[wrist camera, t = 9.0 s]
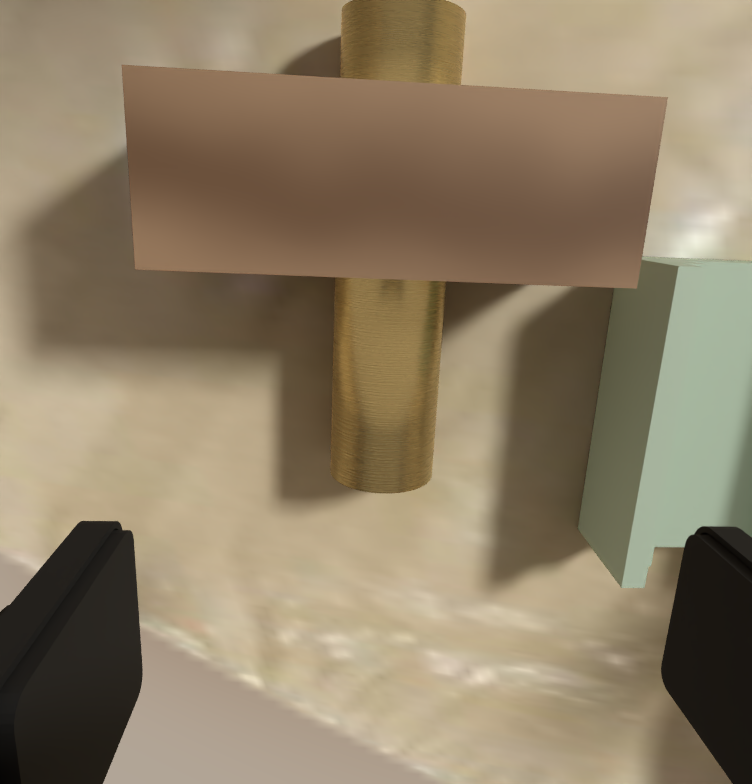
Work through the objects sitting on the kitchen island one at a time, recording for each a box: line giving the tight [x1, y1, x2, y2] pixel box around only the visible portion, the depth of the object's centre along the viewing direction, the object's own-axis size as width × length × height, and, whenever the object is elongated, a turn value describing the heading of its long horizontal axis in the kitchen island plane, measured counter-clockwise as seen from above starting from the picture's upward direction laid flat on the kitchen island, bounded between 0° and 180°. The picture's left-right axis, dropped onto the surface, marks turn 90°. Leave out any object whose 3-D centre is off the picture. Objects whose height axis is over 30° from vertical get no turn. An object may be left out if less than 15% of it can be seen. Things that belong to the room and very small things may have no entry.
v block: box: [578, 257, 752, 588], centre depth 24 cm, size 12×9×4 cm
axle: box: [330, 0, 466, 493], centre depth 22 cm, size 16×4×4 cm, turn 178°
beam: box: [122, 65, 668, 289], centre depth 20 cm, size 5×14×7 cm, turn 87°
